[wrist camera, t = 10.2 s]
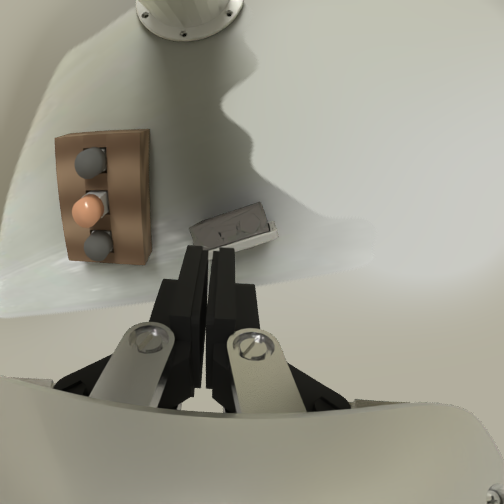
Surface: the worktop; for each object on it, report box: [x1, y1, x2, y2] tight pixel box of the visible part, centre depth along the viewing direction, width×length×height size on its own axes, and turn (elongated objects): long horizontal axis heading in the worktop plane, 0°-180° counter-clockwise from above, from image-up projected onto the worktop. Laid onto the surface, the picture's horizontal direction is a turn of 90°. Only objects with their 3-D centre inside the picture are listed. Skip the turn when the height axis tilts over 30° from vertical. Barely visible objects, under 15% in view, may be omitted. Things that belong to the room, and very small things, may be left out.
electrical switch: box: [189, 202, 278, 260], centre depth 35 cm, size 9×5×9 cm, turn 108°
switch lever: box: [74, 147, 107, 179], centre depth 31 cm, size 3×3×6 cm
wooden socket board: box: [55, 129, 152, 265], centre depth 34 cm, size 16×11×4 cm
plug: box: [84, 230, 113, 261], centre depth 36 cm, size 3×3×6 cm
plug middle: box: [72, 190, 109, 228], centre depth 32 cm, size 3×3×6 cm
